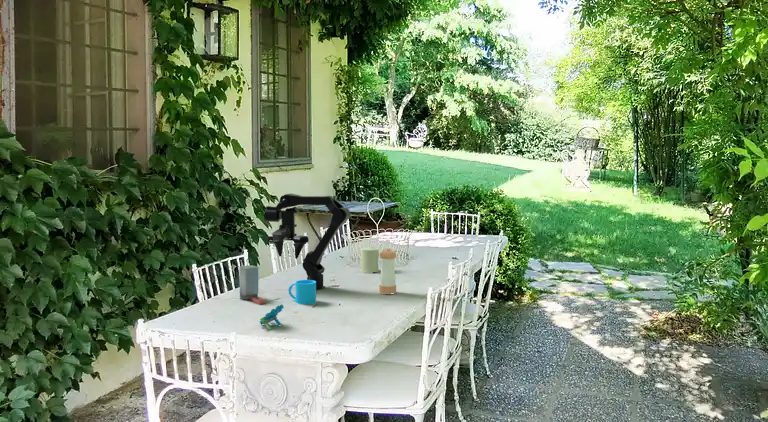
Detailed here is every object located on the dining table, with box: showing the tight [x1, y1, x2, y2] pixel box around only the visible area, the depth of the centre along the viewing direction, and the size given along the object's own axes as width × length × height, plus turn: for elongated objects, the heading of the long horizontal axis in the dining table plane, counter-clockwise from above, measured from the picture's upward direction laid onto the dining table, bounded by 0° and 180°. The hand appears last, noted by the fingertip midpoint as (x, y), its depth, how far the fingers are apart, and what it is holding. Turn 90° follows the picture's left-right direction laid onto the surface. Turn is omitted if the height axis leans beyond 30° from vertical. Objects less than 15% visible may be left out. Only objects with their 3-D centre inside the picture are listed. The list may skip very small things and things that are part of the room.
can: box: [359, 246, 379, 274], centre depth 321 cm, size 9×9×12 cm
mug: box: [288, 279, 317, 305], centre depth 259 cm, size 12×8×8 cm
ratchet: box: [239, 292, 266, 305], centre depth 260 cm, size 7×15×5 cm, turn 38°
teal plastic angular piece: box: [259, 304, 285, 329], centre depth 224 cm, size 11×6×10 cm
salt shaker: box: [378, 248, 397, 295], centre depth 274 cm, size 7×7×19 cm
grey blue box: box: [238, 264, 259, 296], centre depth 262 cm, size 6×6×11 cm
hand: (288, 257), depth 284 cm, fingers open, 9 cm apart
